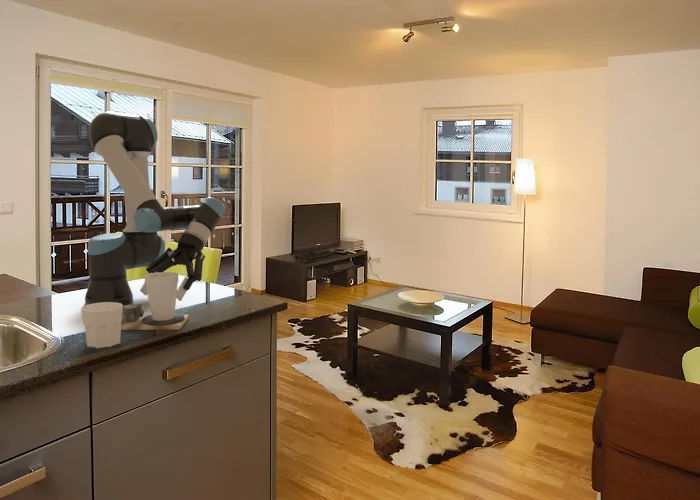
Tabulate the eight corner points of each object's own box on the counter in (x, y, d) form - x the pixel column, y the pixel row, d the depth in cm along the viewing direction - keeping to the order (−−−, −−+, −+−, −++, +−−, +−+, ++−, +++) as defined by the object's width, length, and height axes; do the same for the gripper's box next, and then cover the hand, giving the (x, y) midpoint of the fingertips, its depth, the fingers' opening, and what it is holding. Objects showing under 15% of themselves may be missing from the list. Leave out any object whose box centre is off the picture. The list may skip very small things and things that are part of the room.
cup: (74, 346, 142) (71, 309, 140) (103, 335, 151) (102, 300, 150) (104, 351, 138) (102, 313, 137) (132, 340, 148) (131, 304, 146)
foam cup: (169, 323, 158) (167, 278, 156) (140, 320, 160) (138, 277, 158) (185, 314, 167) (183, 272, 165) (157, 312, 169) (156, 271, 167)
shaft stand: (101, 330, 156) (100, 308, 155) (115, 318, 168) (114, 299, 167) (179, 329, 158) (179, 308, 157) (188, 318, 170) (187, 298, 169)
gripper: (231, 249, 170) (199, 307, 158) (170, 243, 180) (136, 297, 169) (219, 234, 164) (185, 293, 153) (157, 229, 175) (122, 283, 164)
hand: (160, 295), depth 161 cm, fingers open, 13 cm apart
